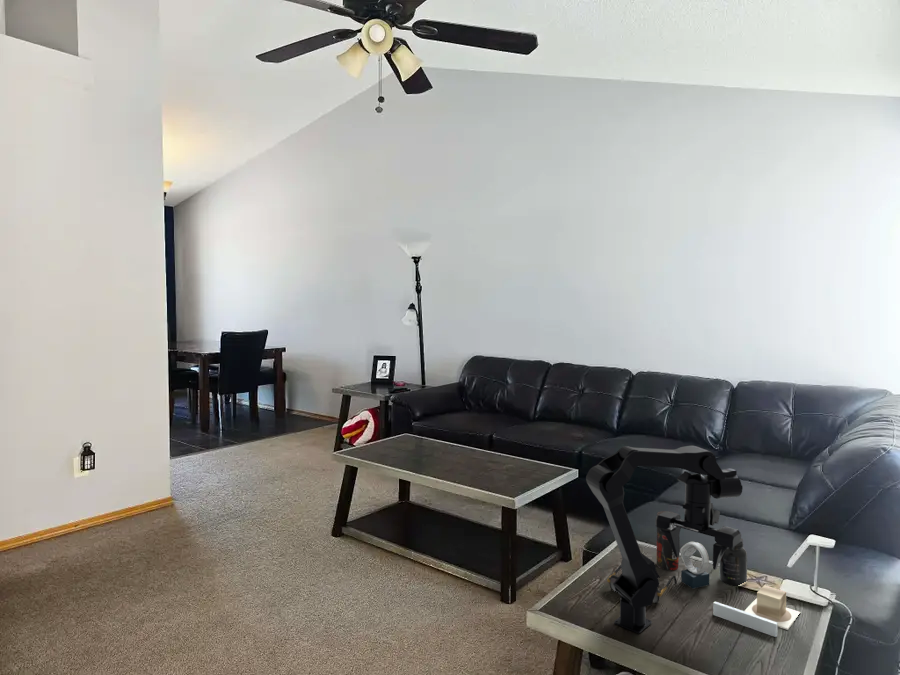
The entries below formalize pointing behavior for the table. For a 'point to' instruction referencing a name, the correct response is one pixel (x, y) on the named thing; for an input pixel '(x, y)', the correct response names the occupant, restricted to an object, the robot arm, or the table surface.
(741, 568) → the supplement bottle
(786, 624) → the pad
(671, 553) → the deodorant
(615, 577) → the sunglasses
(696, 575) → the watch
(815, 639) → the table surface
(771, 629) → the low wall
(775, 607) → the maple block
